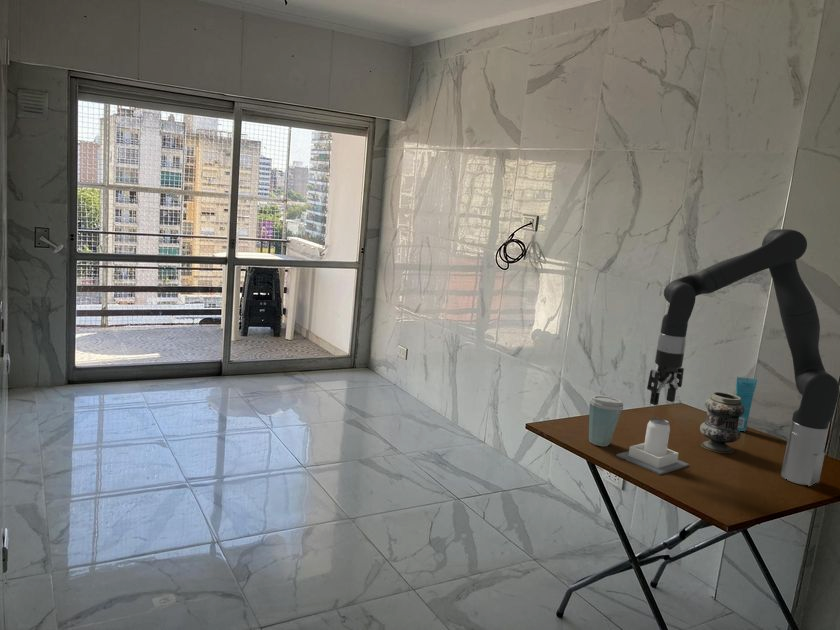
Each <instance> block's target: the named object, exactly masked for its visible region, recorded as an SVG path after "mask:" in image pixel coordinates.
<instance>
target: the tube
mask: <svg viewBox="0 0 840 630" xmlns="http://www.w3.org/2000/svg"><path fill="white" fill-rule="evenodd" d="M757 383H758V378H749V377H740V376H737V377H736V384H735V385H736V386H735V394H734V395H736V396H738V397H740V398H741V404H742V405H743V407H744V409H745V411H744V413H743V414H742V415H741V416H739V420H738V427H737V429H738V430H739V432H740V431H744V432H746V431H747V426H748V422H749V417H750V416H749V415H750V411H751V406H752V403H753V398H754V395H755V390H756V386H757Z"/></svg>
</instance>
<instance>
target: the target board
mask: <svg viewBox="0 0 840 630" xmlns="http://www.w3.org/2000/svg"><path fill="white" fill-rule="evenodd" d="M643 448H644V442H642V443H638V444H634V445H630V446H629V448H628V449H629V450H627V451H623V452H620V453H616V457H618V458H620V459H622V460H624V459H625V460H624V461H627V462H630V463H632V464H634V465H637V466H639V467H641V468H643V469H645V470H648V471H650V472H653V473H654V474H657V475H660V476H661V475H665V474H667V473H670V472H673V471H677V470H680V469H683V468H687V467H689V466H690V465H689V463H687V462H685V461H684V460H680V459H679V455H680V454H679V452H677V451H674V450H672V449H669V448H667V450H666V455H664V456H661V457H657V456H655V455H652V454H650V453H647V452H645V451H643Z"/></svg>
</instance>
